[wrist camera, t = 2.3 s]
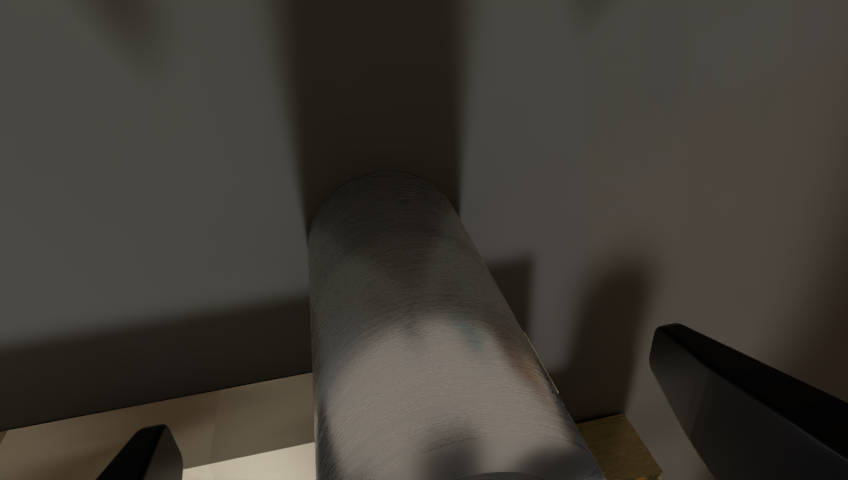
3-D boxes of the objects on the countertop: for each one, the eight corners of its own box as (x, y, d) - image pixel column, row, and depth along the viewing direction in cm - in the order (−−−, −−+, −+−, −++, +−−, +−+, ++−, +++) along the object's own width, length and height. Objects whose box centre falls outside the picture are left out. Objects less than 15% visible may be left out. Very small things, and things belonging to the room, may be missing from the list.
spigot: (457, 161, 13) (690, 498, 5) (461, 291, 15) (632, 668, 7) (294, 184, 13) (291, 599, 5) (321, 315, 15) (350, 753, 7)
